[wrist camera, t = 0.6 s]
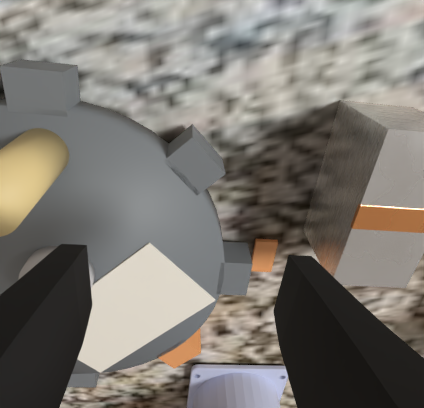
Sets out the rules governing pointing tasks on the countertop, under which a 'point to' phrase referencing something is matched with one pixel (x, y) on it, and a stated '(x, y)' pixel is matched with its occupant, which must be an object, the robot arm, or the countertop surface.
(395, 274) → the orange-banded grey block
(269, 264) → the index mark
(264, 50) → the countertop surface
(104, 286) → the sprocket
